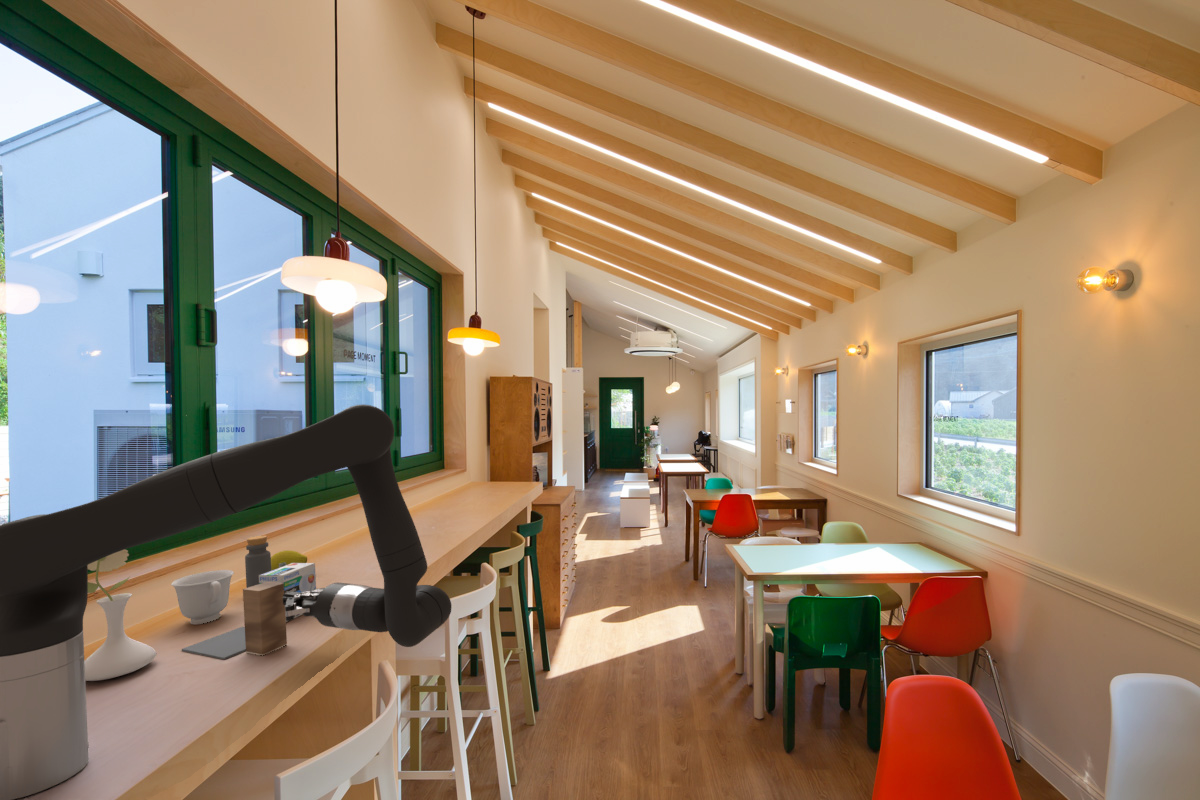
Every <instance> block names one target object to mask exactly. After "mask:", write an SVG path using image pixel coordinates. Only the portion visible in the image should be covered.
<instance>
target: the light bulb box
mask: <svg viewBox="0 0 1200 800" xmlns="http://www.w3.org/2000/svg"><path fill="white" fill-rule="evenodd" d="M264 582H277V583H284V594H285V593H288V592H300V593H303V592H305V591H310V592H311V591H313V590H314V589H317V581H316V563H315V562H307V563H291V564H289V565H286V566H283V567H281V568H278V569H275V570H272V571H270V572H267V573H264V574H261V575H259V584H261V583H264ZM302 615H303V614H298V615H297V617H294V619H296V618H298V617H300V616H302ZM285 616H286V612H285ZM288 622H289V621H286V623H288Z"/></svg>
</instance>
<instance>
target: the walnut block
mask: <svg viewBox="0 0 1200 800" xmlns="http://www.w3.org/2000/svg"><path fill="white" fill-rule="evenodd" d="M283 594H284V583H277V582H264V583H261V584H258V585H255V586H252V587H248V588H247V587H246V588H243V589H242V599H243V603H242V604H243V619H244V622H243V623H244V627H245V642H246V651H245V653H246V654H251V655H255V654H256V656H260V655H262V656H261V657H263V655H264V656H266V655H268V654H270V653H269V652H271V651H273V652H275V651H277V650H276V649H278V650H280V649H282V648H284V647H283V646H285V645H287V646H288V640H287V639H288V637H287V636H288V635H287V622H286V616H285V605H283ZM281 647H282V648H281ZM285 647H286V646H285ZM279 648H280V649H279ZM274 650H275V651H274ZM267 653H268V654H267ZM271 653H272V652H271ZM265 654H266V655H265Z"/></svg>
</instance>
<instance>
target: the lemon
mask: <svg viewBox="0 0 1200 800" xmlns="http://www.w3.org/2000/svg"><path fill="white" fill-rule="evenodd" d="M291 563H308V556H307V555H304V554H302V553H300V552H298V551H295V550H282V551H279V552H276V553H275V554H273V555H271V571H272V570H275V569H278V568H281V567H283V566H286V565H289V564H291Z"/></svg>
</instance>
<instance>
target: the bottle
mask: <svg viewBox="0 0 1200 800" xmlns="http://www.w3.org/2000/svg"><path fill="white" fill-rule="evenodd" d="M267 539H268V536H267V535H256V536H252V537H248V538H246V543H247V545H246V547H245V549H246V550H247V551H248V553H247V554H246V555H245V556H244V562H245V563H244V565H245V583H246V584H245V585H246V586H245V587H246V588H248V587H252V586H255V585H258V584H259V575H261V574H264V573H267V572H270V571H271V557H272V555H271V552H270V550H267V548H268V547H269V542H267Z"/></svg>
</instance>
